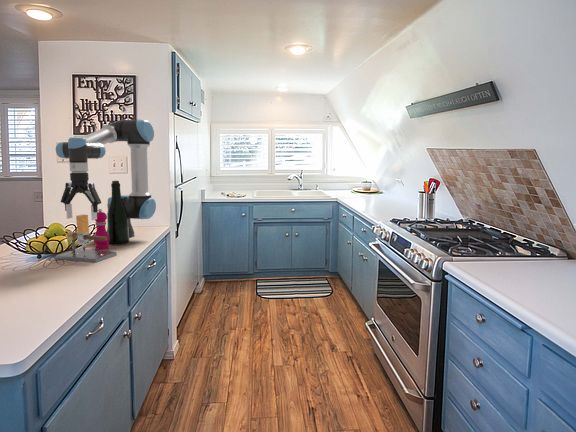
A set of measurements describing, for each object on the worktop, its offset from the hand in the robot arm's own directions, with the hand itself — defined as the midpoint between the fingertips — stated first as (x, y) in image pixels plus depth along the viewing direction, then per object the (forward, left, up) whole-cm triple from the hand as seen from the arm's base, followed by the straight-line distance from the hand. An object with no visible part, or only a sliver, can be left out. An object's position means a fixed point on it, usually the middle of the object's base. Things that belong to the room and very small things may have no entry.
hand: (81, 218), depth 210 cm
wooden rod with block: (0, +2, -16) cm, 16 cm away
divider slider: (0, 0, -16) cm, 16 cm away
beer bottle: (-30, -4, -18) cm, 35 cm away
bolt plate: (0, +1, -18) cm, 18 cm away
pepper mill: (-17, -4, -18) cm, 25 cm away
